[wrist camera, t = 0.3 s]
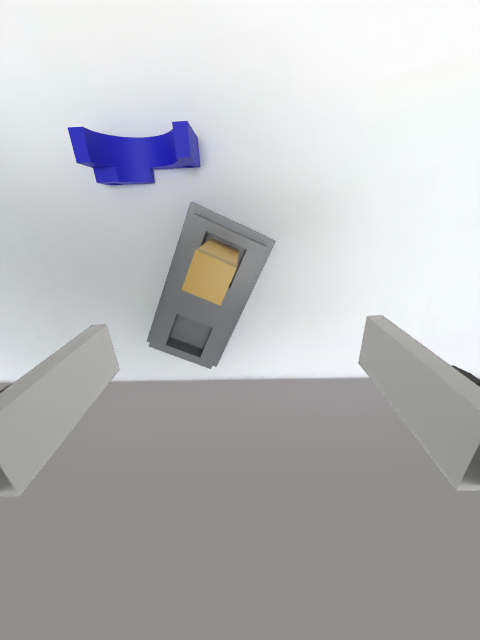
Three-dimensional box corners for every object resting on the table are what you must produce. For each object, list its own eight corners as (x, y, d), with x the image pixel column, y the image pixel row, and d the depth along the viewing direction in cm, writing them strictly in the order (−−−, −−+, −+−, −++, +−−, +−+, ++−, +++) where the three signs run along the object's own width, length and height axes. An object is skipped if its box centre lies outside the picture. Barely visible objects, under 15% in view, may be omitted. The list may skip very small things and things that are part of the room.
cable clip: (109, 185, 32) (81, 179, 26) (100, 143, 30) (67, 127, 24) (201, 181, 31) (192, 173, 26) (198, 138, 29) (187, 121, 24)
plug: (201, 265, 34) (181, 289, 23) (211, 237, 33) (195, 250, 22) (228, 276, 35) (220, 305, 24) (239, 250, 33) (236, 268, 22)
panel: (149, 338, 40) (140, 349, 37) (192, 202, 32) (186, 201, 29) (216, 363, 42) (214, 375, 39) (274, 240, 34) (277, 243, 31)
